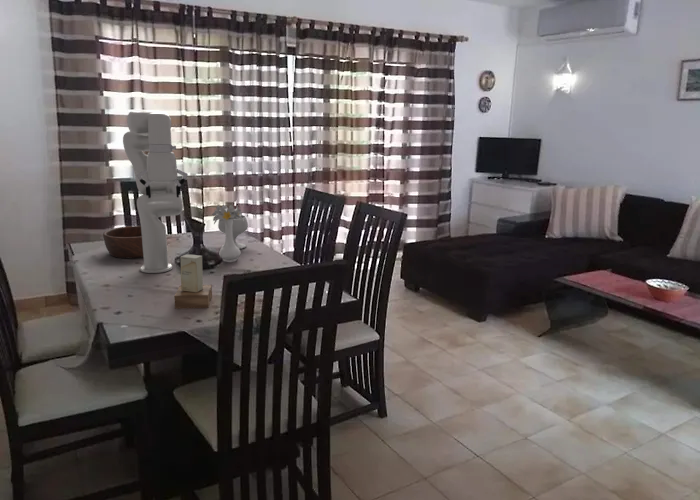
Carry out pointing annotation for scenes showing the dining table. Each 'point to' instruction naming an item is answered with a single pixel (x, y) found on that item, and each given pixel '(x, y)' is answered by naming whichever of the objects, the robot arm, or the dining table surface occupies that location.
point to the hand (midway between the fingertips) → (163, 197)
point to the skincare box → (191, 273)
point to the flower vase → (228, 231)
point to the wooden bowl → (124, 242)
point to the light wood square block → (193, 298)
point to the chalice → (235, 229)
